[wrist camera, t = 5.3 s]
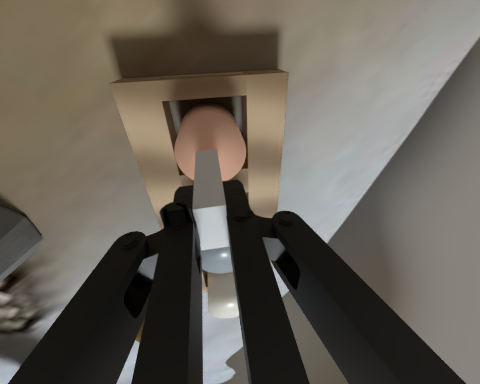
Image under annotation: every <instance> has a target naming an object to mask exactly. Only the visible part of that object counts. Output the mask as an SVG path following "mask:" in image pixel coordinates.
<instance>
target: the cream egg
mask: <svg viewBox="0 0 480 384" xmlns="http://www.w3.org/2000/svg"><path fill="white" fill-rule="evenodd" d="M207 275H208V311H209V313H210V314H211V315H212V316H214V317H218V318H232V317H237V316H239V310H238V303H237V296H236V289H235V282H234V275H233V272H229V273H221V274H218V273H211V272H208V273H207Z"/></svg>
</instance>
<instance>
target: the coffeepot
mask: <svg viewBox="0 0 480 384" xmlns="http://www.w3.org/2000/svg"><path fill="white" fill-rule="evenodd" d="M41 240H42V237H41V235H40V233H39V231H38V229H37V228H36V226H35V225H34V224H33V223H32V222H31V221H30V220H28V219H27V218H26V217H24V216H22V215H21V214H19V213H17V212H15V211H13V210H11V209H8V208H5V207H2V206H0V282H1V281H2V280H3V279H4V278H5V277H7V276H8V275H9V274H10V273H11V272H12V271H13V270H15V269H16V268H17V267H18V266H19V265H20V264H22V263H23V262H24V261H25V260H26V259H27V258H28V257H30V256H31V255H32V254H33V252H34V251H35V249H36V248H37V246H38V245H39V243H40V242H41Z"/></svg>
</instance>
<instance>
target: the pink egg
mask: <svg viewBox="0 0 480 384" xmlns="http://www.w3.org/2000/svg"><path fill="white" fill-rule="evenodd" d="M210 149H217V152H218V158H219V164H220V171H221V177H222V181H228V180H229V179H231V178H233V177H234V176H235V175H236V174H237V173H238V172H239V171H240V170H241V168H242V166H243V164H244V162H245V158H246V146H245V142H244V139H243V137H242V135H241V132H240V130H239V128H238V125H237V123H236V121H235V119H234V117H233V116H232V114H231V113H230V112H229V111H228V110H227V109H225V108H224V107H222V106H220V105H217V104H214V103H203V104H199V105H196V106H194V107H193V108H191V109H190V110H189V111H188V112H187V113H186V114H185V116H184V117H183V119H182V122H181V126H180V129H179V132H178V136H177V139H176V143H175V148H174V154H175V159H176V162H177V164H178V166H179V168H180V169H181V171H182V172H183V173H184V174H185V175H186V176H188V177H189V178H190V179H192V180H194V171H195V152H196V151H200V150H210Z"/></svg>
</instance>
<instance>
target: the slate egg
mask: <svg viewBox="0 0 480 384" xmlns="http://www.w3.org/2000/svg"><path fill="white" fill-rule="evenodd" d="M200 253H201V258H202V269H203V270H205V271H207V272H211V273H218V274H221V273H229V272H233V268H232V263H231V253H230V246H229V247H222V248H215V249H208V250H202V251H201V247H200Z"/></svg>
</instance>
